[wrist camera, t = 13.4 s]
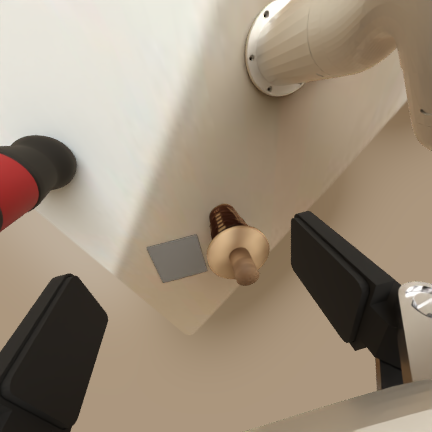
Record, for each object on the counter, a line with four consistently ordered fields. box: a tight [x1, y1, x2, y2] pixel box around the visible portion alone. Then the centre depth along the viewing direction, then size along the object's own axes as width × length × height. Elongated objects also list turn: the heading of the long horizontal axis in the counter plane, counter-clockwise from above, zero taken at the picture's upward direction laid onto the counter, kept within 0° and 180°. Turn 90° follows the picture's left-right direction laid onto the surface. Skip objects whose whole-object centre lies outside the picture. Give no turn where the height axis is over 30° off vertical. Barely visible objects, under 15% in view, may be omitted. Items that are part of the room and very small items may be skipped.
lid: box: [207, 226, 269, 286], centre depth 33 cm, size 11×11×6 cm
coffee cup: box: [210, 204, 248, 240], centre depth 41 cm, size 9×8×13 cm
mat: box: [147, 234, 207, 283], centre depth 51 cm, size 12×12×1 cm
